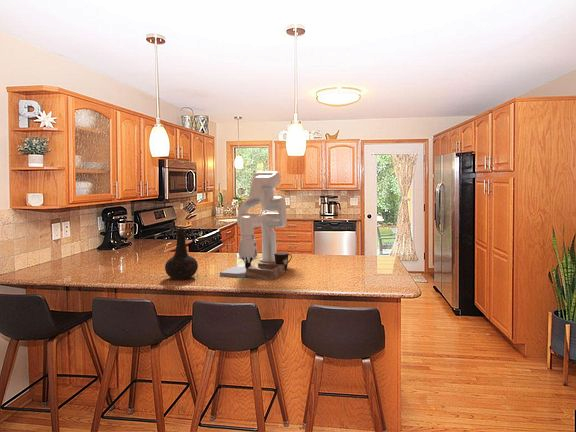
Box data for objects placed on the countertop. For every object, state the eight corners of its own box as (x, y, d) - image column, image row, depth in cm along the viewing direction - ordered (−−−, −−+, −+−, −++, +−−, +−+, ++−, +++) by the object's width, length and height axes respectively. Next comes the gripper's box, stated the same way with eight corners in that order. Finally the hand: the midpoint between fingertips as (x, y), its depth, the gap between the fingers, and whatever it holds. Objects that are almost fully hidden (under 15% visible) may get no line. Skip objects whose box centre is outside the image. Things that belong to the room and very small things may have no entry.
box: (259, 271, 268) (259, 262, 267) (284, 273, 262) (284, 264, 262) (246, 277, 252) (246, 268, 252) (272, 279, 246) (272, 270, 246)
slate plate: (234, 269, 274) (234, 266, 274) (258, 271, 268) (258, 267, 268) (220, 275, 258) (219, 272, 257) (245, 277, 252) (245, 274, 252)
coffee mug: (276, 271, 266) (276, 255, 265) (273, 268, 274) (272, 252, 273) (295, 270, 269) (295, 253, 268) (291, 267, 277) (291, 251, 276)
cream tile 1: (251, 268, 263) (253, 264, 262) (260, 273, 261) (262, 270, 261) (247, 270, 257) (249, 266, 257) (255, 275, 256) (257, 272, 255)
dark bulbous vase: (162, 282, 244) (160, 230, 242) (168, 274, 262) (166, 226, 259) (196, 281, 246) (194, 230, 243) (200, 273, 263) (198, 226, 261)
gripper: (262, 237, 260) (262, 268, 262) (238, 236, 265) (239, 267, 267) (256, 238, 253) (257, 271, 255) (232, 237, 258) (233, 269, 260)
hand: (248, 269), depth 261 cm, fingers closed
